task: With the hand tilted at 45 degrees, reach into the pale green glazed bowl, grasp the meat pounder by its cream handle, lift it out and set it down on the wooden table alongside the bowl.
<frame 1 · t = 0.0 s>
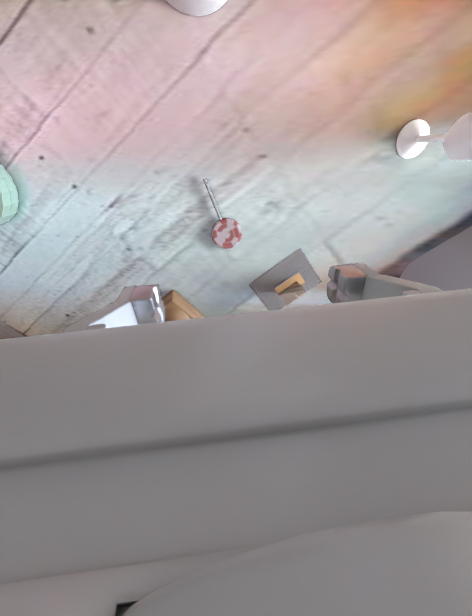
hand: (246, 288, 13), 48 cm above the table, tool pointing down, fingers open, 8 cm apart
candle holder: (174, 315, 69), on the table
lollipop: (218, 214, 57), on the table
champagne flute: (412, 139, 53), on the table
architectural model: (285, 282, 67), on the table
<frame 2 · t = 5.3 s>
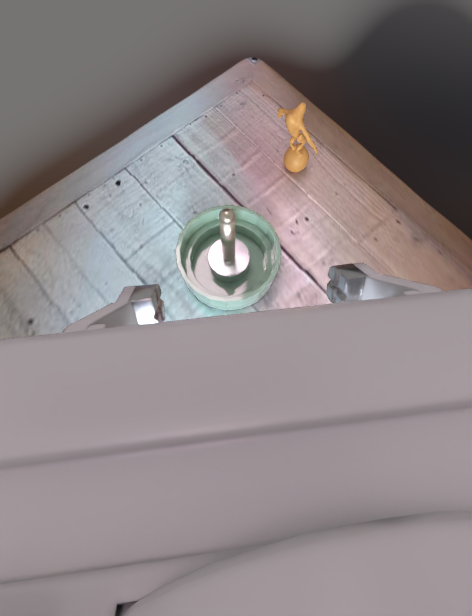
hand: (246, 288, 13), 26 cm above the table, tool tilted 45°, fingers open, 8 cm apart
bowl: (229, 265, 41), on the table
meat pounder: (229, 264, 41), resting on bowl
figurine: (288, 171, 45), on the table
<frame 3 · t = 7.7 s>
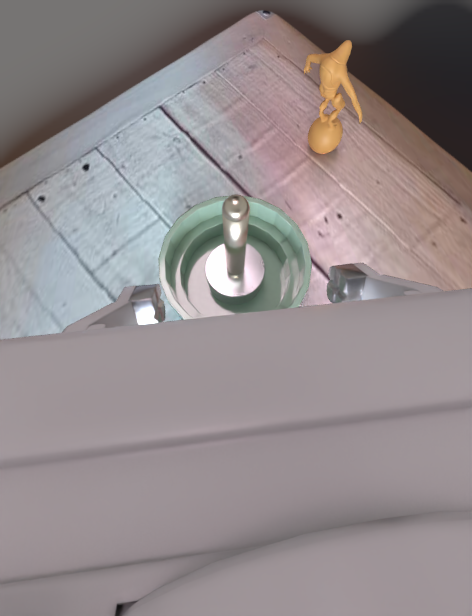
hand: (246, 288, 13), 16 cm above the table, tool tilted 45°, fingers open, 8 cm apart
bowl: (234, 279, 30), on the table
meat pounder: (234, 278, 29), resting on bowl
figurine: (313, 153, 34), on the table
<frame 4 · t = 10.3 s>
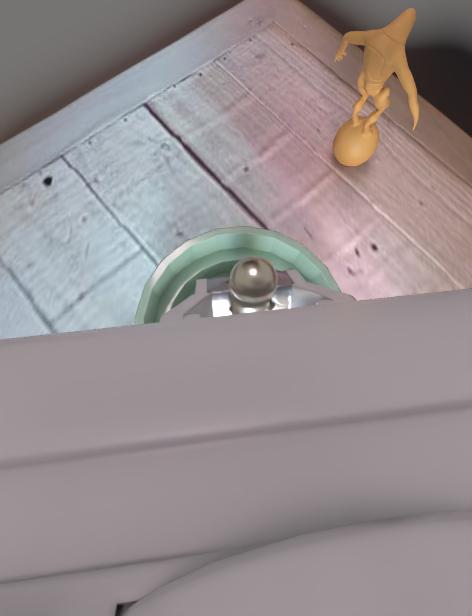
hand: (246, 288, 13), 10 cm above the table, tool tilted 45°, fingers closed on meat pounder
bowl: (240, 333, 23), on the table
meat pounder: (240, 333, 22), resting on bowl, touching gripper
figurine: (338, 165, 27), on the table
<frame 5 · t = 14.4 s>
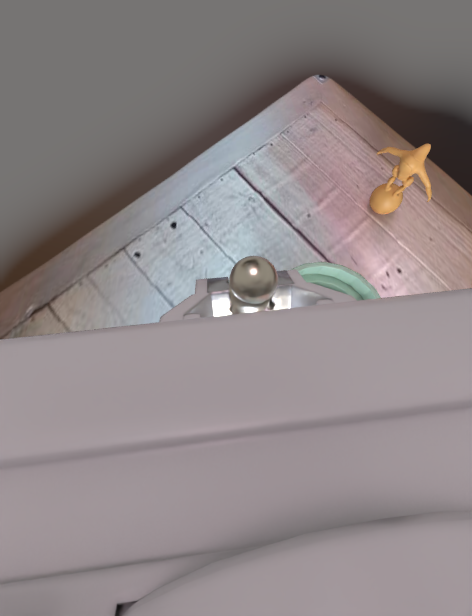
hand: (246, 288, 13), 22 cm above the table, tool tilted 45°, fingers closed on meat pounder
bowl: (312, 329, 34), on the table
meat pounder: (240, 332, 22), point 12 cm above the table, touching gripper
figurine: (372, 212, 39), on the table
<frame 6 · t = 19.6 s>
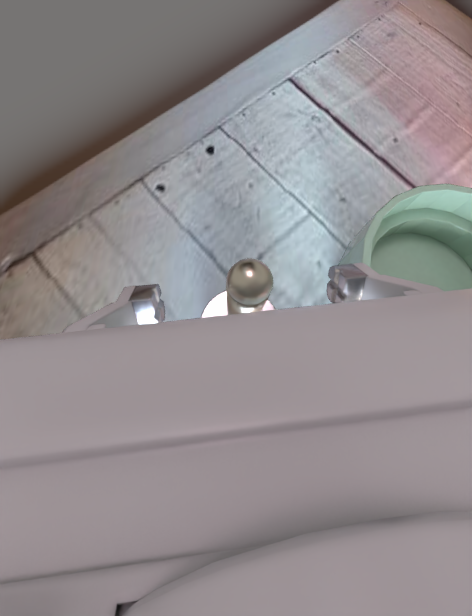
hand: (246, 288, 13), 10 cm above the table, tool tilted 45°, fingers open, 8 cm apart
bowl: (415, 291, 24), on the table
meat pounder: (238, 332, 23), on the table
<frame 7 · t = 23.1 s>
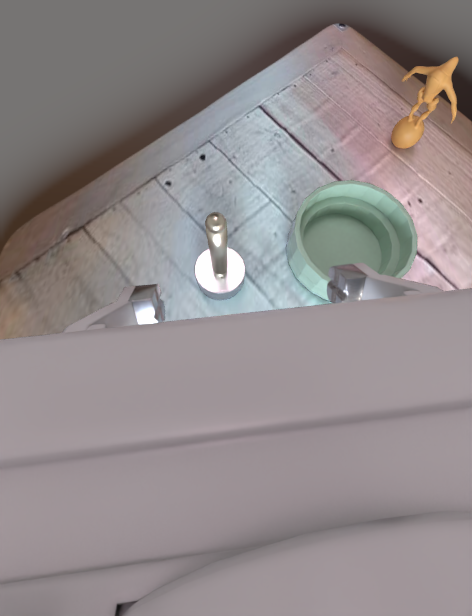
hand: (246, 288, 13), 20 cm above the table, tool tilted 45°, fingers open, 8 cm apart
bowl: (338, 252, 36), on the table
meat pounder: (220, 278, 34), on the table
figurine: (393, 148, 40), on the table
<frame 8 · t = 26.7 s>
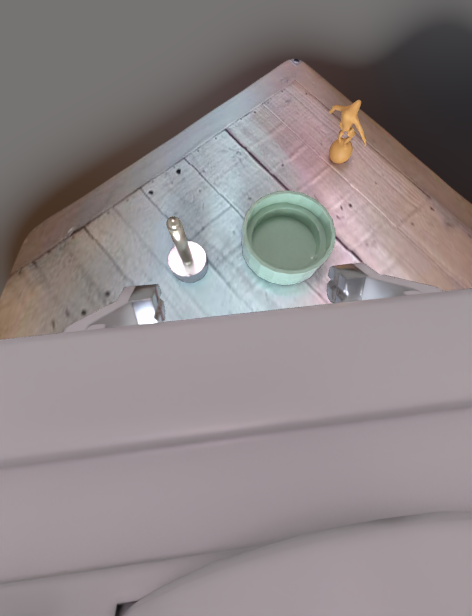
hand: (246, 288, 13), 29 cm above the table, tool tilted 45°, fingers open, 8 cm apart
bowl: (282, 245, 46), on the table
meat pounder: (189, 266, 44), on the table
figurine: (332, 163, 50), on the table
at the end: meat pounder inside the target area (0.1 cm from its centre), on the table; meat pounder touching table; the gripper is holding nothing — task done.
